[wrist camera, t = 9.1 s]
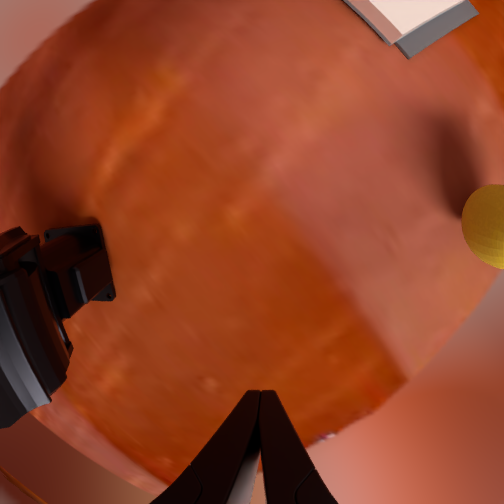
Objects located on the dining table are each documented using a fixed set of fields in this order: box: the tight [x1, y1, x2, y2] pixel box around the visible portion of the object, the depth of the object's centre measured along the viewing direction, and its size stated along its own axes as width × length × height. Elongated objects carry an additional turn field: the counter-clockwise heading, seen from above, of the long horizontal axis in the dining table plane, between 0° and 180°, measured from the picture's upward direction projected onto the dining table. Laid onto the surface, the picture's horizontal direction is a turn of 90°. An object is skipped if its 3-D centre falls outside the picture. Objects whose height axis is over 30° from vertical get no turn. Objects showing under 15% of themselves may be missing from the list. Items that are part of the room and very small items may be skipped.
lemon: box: [461, 185, 504, 269], centre depth 14 cm, size 6×6×8 cm
